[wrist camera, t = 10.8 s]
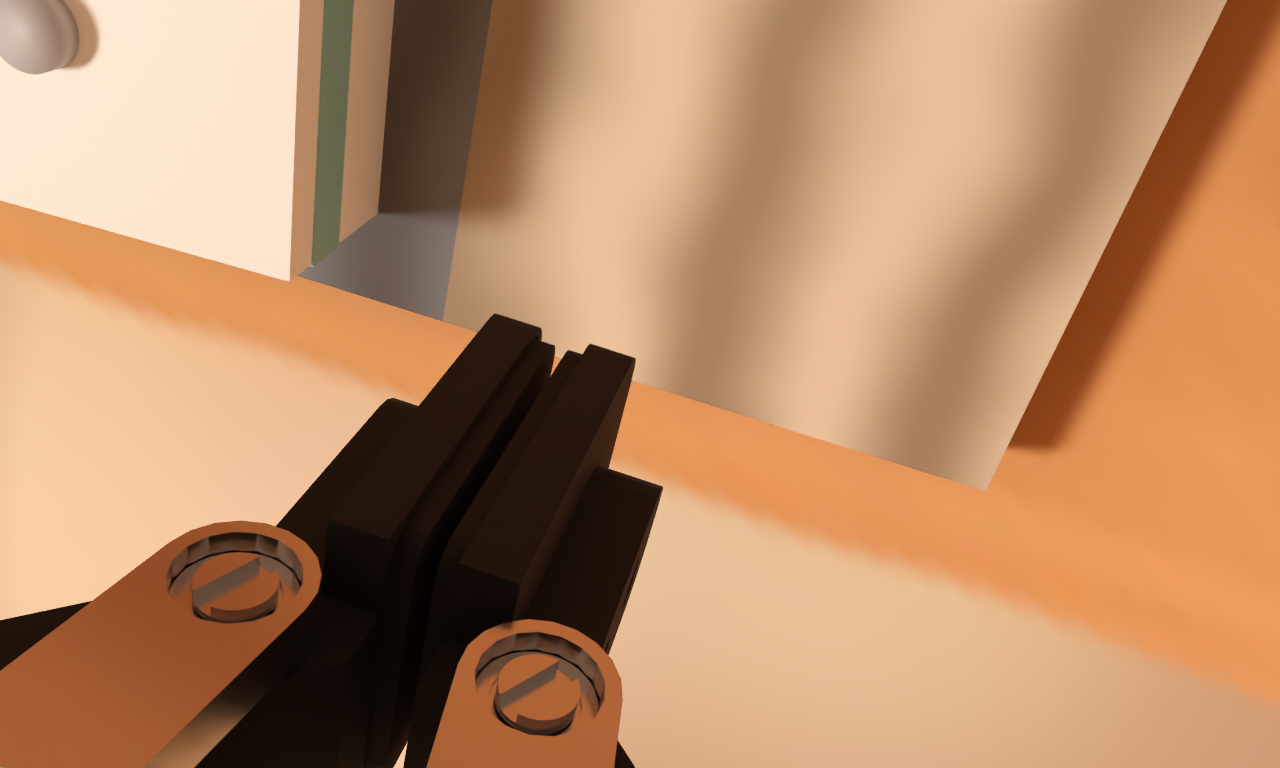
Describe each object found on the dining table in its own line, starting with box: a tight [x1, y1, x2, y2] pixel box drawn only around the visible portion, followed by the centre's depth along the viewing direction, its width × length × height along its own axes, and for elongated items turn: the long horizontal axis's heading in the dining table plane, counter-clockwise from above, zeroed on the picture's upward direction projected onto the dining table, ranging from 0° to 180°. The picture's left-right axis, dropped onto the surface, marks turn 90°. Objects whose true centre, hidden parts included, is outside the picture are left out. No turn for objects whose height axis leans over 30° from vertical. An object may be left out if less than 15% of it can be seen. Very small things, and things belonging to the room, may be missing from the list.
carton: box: [0, 0, 395, 282], centre depth 25 cm, size 8×9×6 cm
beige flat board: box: [298, 0, 1227, 491], centre depth 28 cm, size 32×15×2 cm, turn 77°
